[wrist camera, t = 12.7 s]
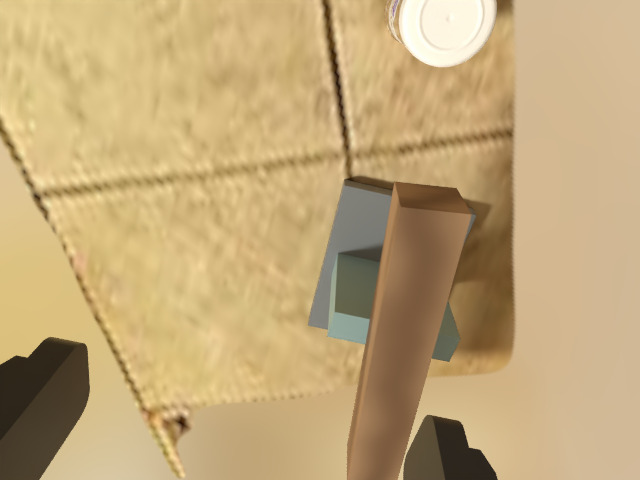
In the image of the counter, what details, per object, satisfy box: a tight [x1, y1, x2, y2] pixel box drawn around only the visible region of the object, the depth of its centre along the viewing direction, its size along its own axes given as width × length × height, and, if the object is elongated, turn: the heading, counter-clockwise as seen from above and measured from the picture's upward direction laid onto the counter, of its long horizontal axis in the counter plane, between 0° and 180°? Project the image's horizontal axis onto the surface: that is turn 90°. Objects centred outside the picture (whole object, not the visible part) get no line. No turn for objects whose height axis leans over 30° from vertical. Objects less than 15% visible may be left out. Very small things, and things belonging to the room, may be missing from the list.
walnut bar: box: [347, 182, 472, 480], centre depth 32 cm, size 4×26×4 cm, turn 175°
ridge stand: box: [308, 179, 477, 362], centre depth 39 cm, size 12×16×10 cm
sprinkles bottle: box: [385, 0, 497, 67], centre depth 27 cm, size 5×5×13 cm
